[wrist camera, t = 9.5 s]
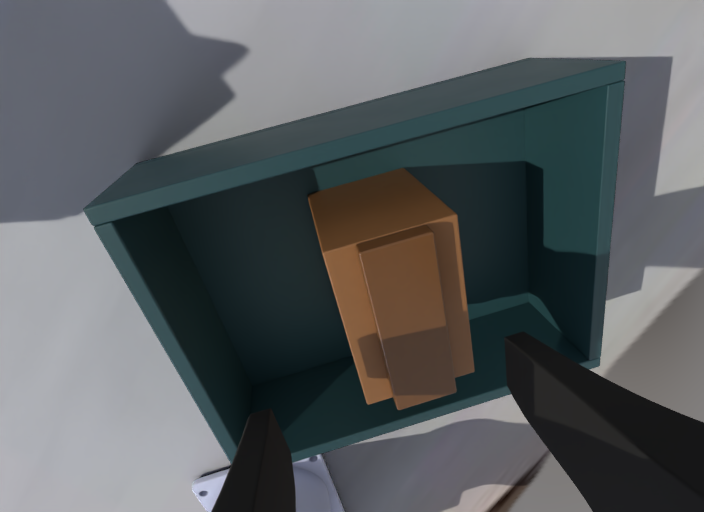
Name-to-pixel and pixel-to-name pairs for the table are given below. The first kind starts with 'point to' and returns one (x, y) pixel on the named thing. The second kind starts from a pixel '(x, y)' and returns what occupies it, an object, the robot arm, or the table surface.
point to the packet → (397, 285)
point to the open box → (308, 263)
